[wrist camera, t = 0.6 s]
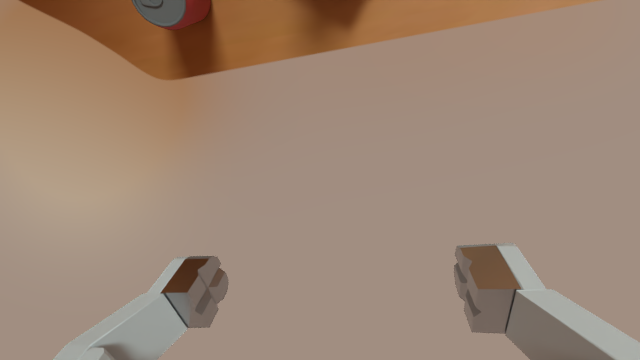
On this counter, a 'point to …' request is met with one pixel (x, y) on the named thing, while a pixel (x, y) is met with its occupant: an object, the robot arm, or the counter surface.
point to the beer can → (173, 12)
